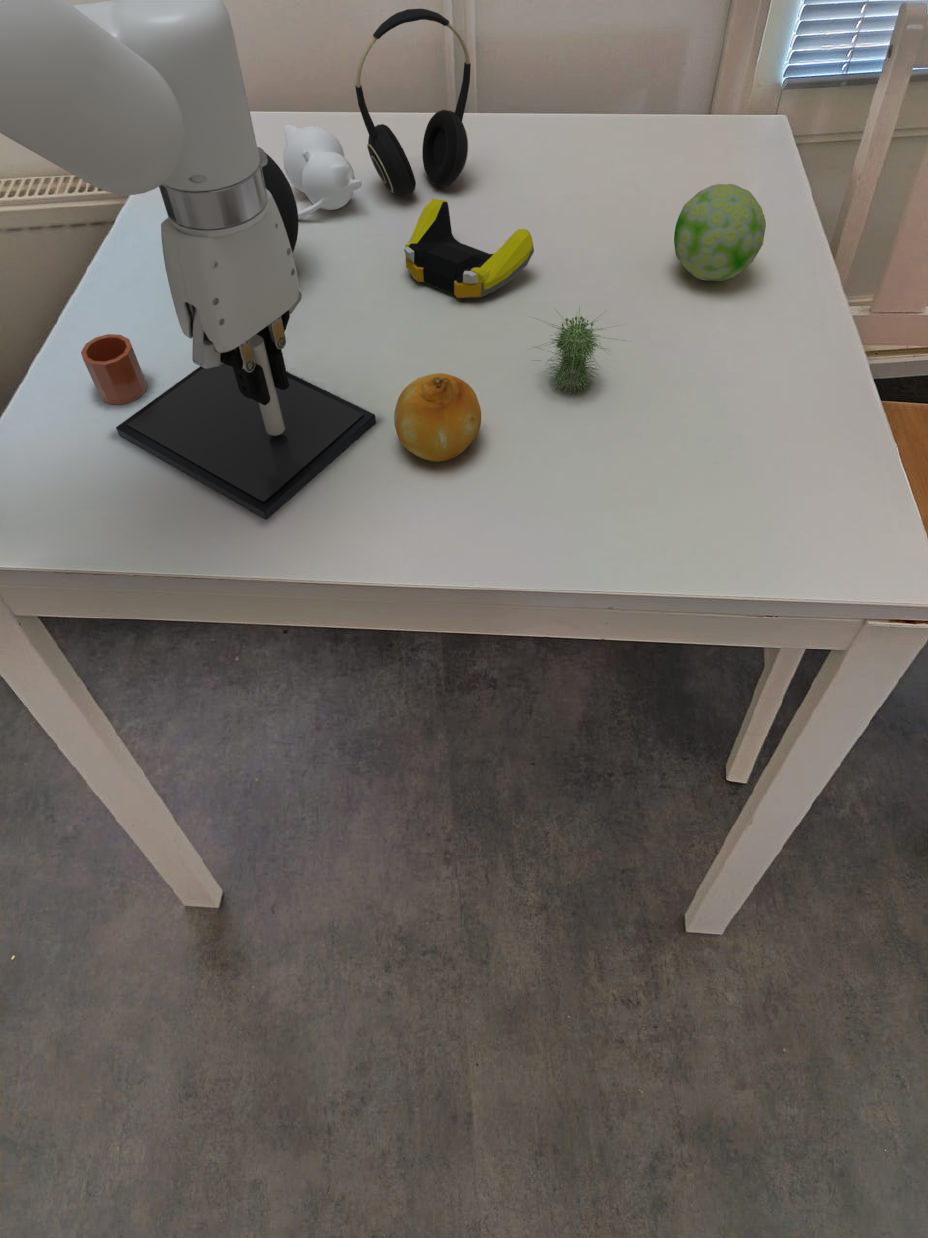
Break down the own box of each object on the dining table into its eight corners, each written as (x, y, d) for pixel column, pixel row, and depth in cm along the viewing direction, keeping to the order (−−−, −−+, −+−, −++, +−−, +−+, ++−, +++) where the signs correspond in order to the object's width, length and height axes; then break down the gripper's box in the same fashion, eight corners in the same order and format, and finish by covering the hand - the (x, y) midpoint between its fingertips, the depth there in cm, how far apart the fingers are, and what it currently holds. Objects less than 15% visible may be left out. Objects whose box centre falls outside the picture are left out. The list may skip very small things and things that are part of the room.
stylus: (277, 443, 81) (253, 349, 72) (263, 436, 82) (238, 342, 73) (290, 433, 82) (267, 339, 73) (276, 426, 82) (252, 331, 74)
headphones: (356, 185, 112) (335, 8, 95) (457, 160, 115) (454, -14, 99) (379, 216, 107) (362, 35, 91) (484, 189, 111) (486, 11, 94)
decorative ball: (769, 283, 97) (796, 198, 89) (699, 308, 95) (719, 222, 87) (717, 242, 102) (737, 157, 94) (648, 264, 100) (663, 179, 92)
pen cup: (121, 410, 86) (103, 370, 82) (90, 393, 88) (71, 352, 84) (156, 385, 88) (141, 344, 84) (125, 368, 90) (108, 328, 86)
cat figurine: (339, 141, 99) (303, 97, 105) (276, 207, 102) (244, 160, 108) (381, 192, 106) (345, 149, 112) (321, 253, 109) (289, 207, 115)
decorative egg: (329, 266, 101) (308, 133, 89) (260, 318, 95) (228, 185, 83) (251, 235, 105) (222, 105, 93) (180, 284, 99) (139, 152, 87)
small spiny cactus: (636, 421, 84) (649, 358, 78) (516, 424, 84) (519, 361, 78) (621, 346, 91) (632, 283, 85) (510, 348, 91) (512, 286, 85)
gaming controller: (435, 234, 104) (385, 273, 100) (433, 190, 100) (381, 228, 95) (538, 273, 99) (490, 315, 94) (541, 228, 95) (491, 270, 90)
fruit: (470, 470, 77) (471, 379, 74) (385, 466, 78) (382, 377, 75) (486, 452, 84) (487, 369, 81) (407, 448, 86) (405, 366, 83)
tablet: (266, 519, 77) (263, 510, 76) (118, 435, 84) (114, 425, 83) (376, 422, 84) (375, 412, 83) (232, 351, 91) (229, 342, 90)
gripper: (252, 135, 68) (293, 333, 82) (97, 223, 60) (173, 423, 75) (322, 161, 65) (352, 360, 80) (170, 256, 58) (234, 456, 72)
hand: (265, 389), depth 77 cm, fingers closed on stylus, 1 cm apart
